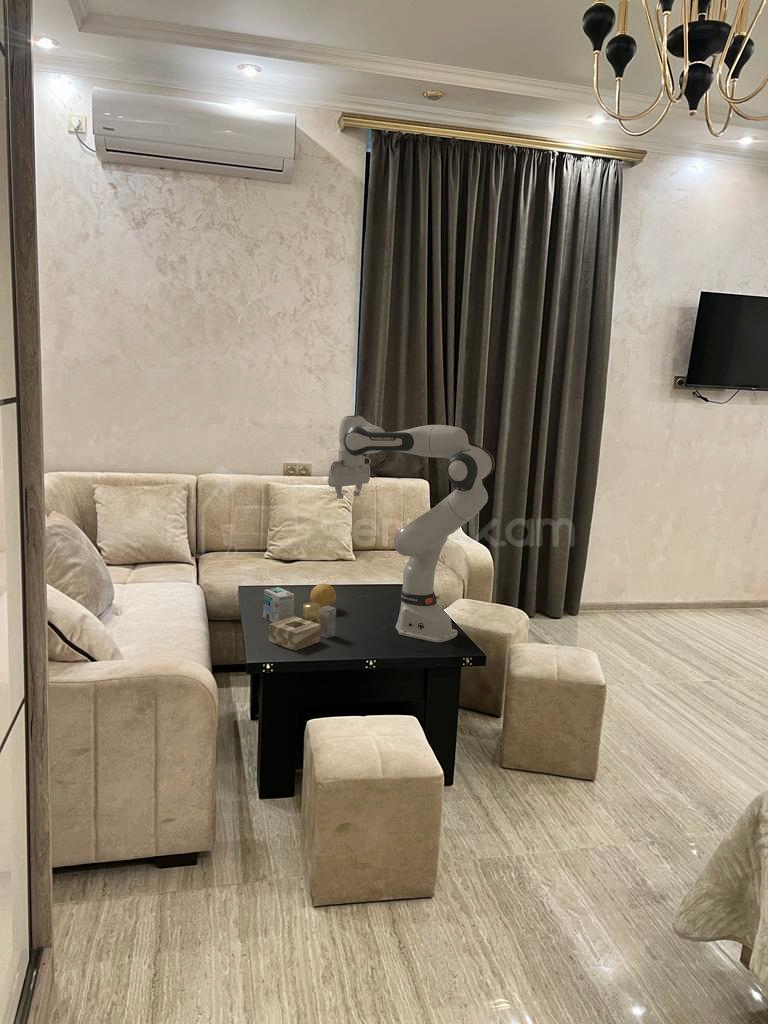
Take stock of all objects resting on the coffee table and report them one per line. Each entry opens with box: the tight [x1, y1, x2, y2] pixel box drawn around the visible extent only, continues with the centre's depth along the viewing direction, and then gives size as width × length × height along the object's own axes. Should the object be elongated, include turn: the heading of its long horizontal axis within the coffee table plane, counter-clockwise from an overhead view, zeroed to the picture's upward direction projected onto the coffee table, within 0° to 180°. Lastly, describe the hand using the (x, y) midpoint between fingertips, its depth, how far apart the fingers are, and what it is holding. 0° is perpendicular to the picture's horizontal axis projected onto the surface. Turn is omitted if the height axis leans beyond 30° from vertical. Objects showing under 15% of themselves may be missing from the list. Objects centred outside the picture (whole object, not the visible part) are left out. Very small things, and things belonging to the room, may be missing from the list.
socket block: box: [268, 615, 321, 651], centre depth 253 cm, size 12×12×6 cm
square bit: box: [319, 605, 337, 639], centre depth 260 cm, size 4×4×10 cm
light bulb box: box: [263, 587, 296, 624], centre depth 273 cm, size 11×7×11 cm, turn 40°
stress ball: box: [309, 583, 337, 608], centre depth 289 cm, size 10×10×10 cm
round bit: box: [302, 602, 320, 624], centre depth 269 cm, size 6×6×8 cm
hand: (348, 497), depth 278 cm, fingers open, 8 cm apart
